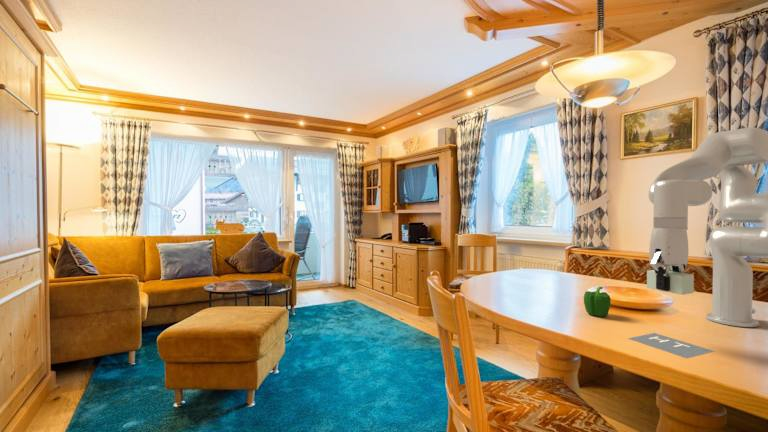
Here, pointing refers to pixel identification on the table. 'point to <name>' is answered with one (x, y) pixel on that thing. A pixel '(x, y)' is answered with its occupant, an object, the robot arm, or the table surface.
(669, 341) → the card
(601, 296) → the bell pepper
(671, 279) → the sage block
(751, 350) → the table surface
